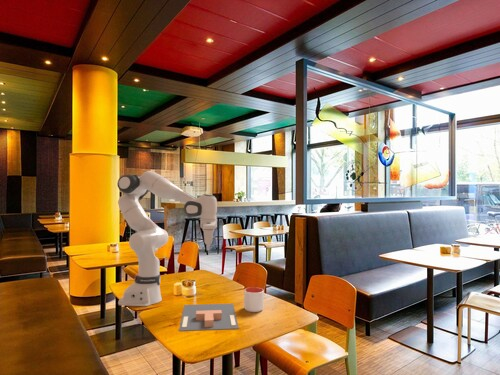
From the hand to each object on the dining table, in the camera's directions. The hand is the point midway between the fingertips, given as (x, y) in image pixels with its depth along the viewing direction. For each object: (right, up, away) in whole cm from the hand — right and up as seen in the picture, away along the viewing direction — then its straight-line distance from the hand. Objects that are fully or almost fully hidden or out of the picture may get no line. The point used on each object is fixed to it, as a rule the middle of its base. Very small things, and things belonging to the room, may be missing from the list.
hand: (208, 249), depth 173 cm
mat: (+3, -29, -17) cm, 34 cm away
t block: (+4, -29, -25) cm, 38 cm away
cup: (+25, -30, -7) cm, 39 cm away
